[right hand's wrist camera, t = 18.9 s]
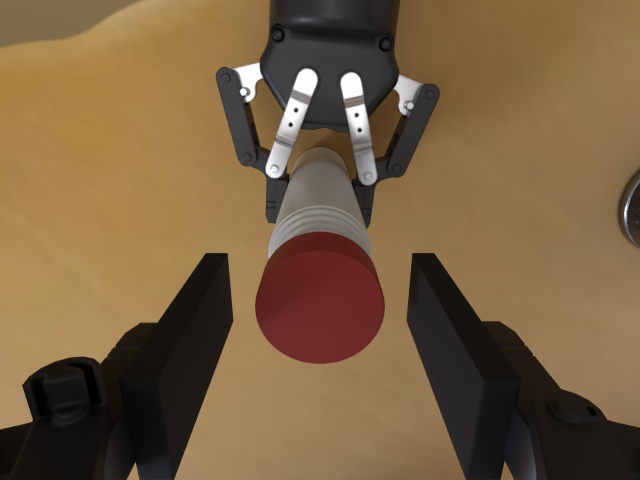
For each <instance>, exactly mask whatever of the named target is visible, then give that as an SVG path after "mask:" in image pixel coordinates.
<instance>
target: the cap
mask: <svg viewBox="0 0 640 480" xmlns="http://www.w3.org/2000/svg"><path fill="white" fill-rule="evenodd" d="M255 310H256V317H257V321H258V324H259V327H260V329H261V331H262V333H263V335H264V336H265V337H266V339H267V340H268V341H269V342H270V343H271V344H272V345H273V346H274V347H275V348H276V349H277V350H278V351H280V352H282V353H283V354H285V355H286V356H289V357H291V358H293V359H296V360H299V361H302V362H307V363H314V364H326V363H333V362H338V361H341V360H344V359H347V358H349V357H351V356H354V355H355V354H357V353H358V352H360V351H361V350H363V349H364V348H365V347H366V346H367V345H368V344H369V343H370V342H371V341H372V340H373V339H374V337H375V336H376V334H377V333H378V331H379V329H380V327H381V324H382V321H383V317H384V310H385V304H384V296H383V292H382V289H381V286H380V282H379V279H378V276H377V273H376V269H375V267H374V264H373V262H372V260H371V258H370V257H369V255H368V254H367V253H366V252H365V250H364V249H363V248H362V247H361V246H359V245H358V244H357V243H355V242H354V241H352V240H351V239H349V238H347V237H345V236H342V235H339V234H336V233H331V232H308V233H304V234H301V235H298V236H295V237H293V238H291V239H289V240H287V241H286V242H285V243H283V244H282V245H281V246H279V247H278V248H277V249H276V250H275V252H274V253H273V254H272V255H271V257H270V258H269V260H268V262H267V264H266V267H265V269H264V272H263V276H262V279H261V282H260V285H259V289H258V292H257V296H256V303H255Z"/></svg>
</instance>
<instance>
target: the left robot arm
mask: <svg viewBox="0 0 640 480" xmlns="http://www.w3.org/2000/svg"><path fill="white" fill-rule="evenodd" d="M399 5H400V0H270V20H269V39H268V43H267V46H266V49H265V51H264V52H263V54H262V56H261V58H260V62H259V63H254V64H250V65H245V66H241V67H237V68H231V67H222V68H220V69H219V70H218V71H217V73H216V81H217V85H218V88H219V92H220V95H221V99H222V103H223V106H224V110H225V114H226V117H227V121H228V125H229V128H230V132H231V135H232V139H233V143H234V146H235V150H236V154H237V157H238V160H239V162H240V163H241V164H242V165H243V166H251V167H254V168H256V169H258V170H260V171H262V172H263V173H264V175H265V176H266V179H267V188H266V218H267V221H268V223H275V224H276V221H277V218H278V215H279V212H280V209H281V205H282V202H283V199H284V196H285V193H286V190H287V187H288V184H289V178H290V174H287V163H288V160H289V158H290V155H291V152H292V150H293V147H294V144H295V142H296V139H297V137H298V134H299V131H300V129H308V130H314V129H319V128H328V129H331V130H334V131H336V132H345V133H348V137H349V142H350V146H351V150H352V155H353V160H354V165H355V170H356V177H355V179H352V187H353V190H354V193H355V196H356V199H357V202H358V205H359V208H360V211H361V215H362V218H363V221H364V224H365V227H366V230H367V228H368V226H369V224H370V221H371V213H372V205H373V197H374V189H375V186H376V185H377V183H378V182H379V181H381V180H383V179H387V178H391V177H395V178H397V177H401V176H402V175H403V174H404V173H405V172H406V169H407V167H408V165H409V163H410V161H411V158H412V156H413V154H414V152H415V149H416V147H417V145H418V143H419V141H420V138H421V136H422V134H423V132H424V130H425V127H426V125H427V123H428V121H429V118H430V116H431V114H432V112H433V110H434V107H435V105H436V103H437V101H438V99H439V95H440V91H439V88H438V87H437V86H436V85H434V84H421V83H419V82H417V81H414V80H412V79H409V78H407V77H405V76H402V75H400V74H399V68H398V65H397V63H396V60H395V55H394V43H395V36H396V28H397V20H398V12H399ZM262 79H264V80H265V82H266V84H267V85H268V87H269V89H270V90H271V92H272V94H273V95H274V97H275V98H276V100H277V102H278V103H279V105H280V107H281V108H282V110H283V111H284V115H283V118H282V121H281V123H280V126H279V129H278V132H277V135H276V138H275V141H274V144H273V147H272V150H271V151H270V150H267V149H265V148H263V147H261V146H260V142H259V138H258V134H257V130H256V126H255V122H254V118H253V115H252V111H251V107H250V103H249V102H251V101H253V100H254V99H255V98H256V96H257V85H258V83H259V82H260V81H261V80H262ZM392 90H393V91H394V92H395V93H396V95H397V102H396V109H397V111H398V112H399V113H400V114H402V115H401V118H400V120H399V122H398V125H397V127H396V129H395V132H394V134H393V136H392V139H391V141H390V143H389V146H388V148H387V150H386V153H385V155H384V156H383V157H380V158H376V159H374V154H373V148H372V147H373V146H372V139H371V134H370V128H369V123H368V118H369V117H370V116H371V114H372V113H373V112H374V111H375V110H376V109H377V107H378V106H379V105H380V104H381V103H382V102H383V100H384V99H385V98H386V97H387V96H388V95H389V93H390V92H391V91H392ZM619 222H620V226H621V229H622V232H623V234H624V235H625V237H626V238H627V239H628V240H629V242H631V243H632V244H633V245H634V246H636V247H638V248H640V170H639V171H638V172H637V173H636V174H635V176H634V177H633V178H632V180H631V181H630V182H629V184H628V186H627V187H626V189H625V191H624V194H623V196H622V199H621V203H620V207H619Z"/></svg>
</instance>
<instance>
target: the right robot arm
mask: <svg viewBox="0 0 640 480" xmlns="http://www.w3.org/2000/svg"><path fill="white" fill-rule="evenodd" d="M232 323H233V311H232V299H231V287H230V276H229V264H228V253H206V254H205V255H204V257H203V258H202V259H201V261H200V262H199V264H198V265H197V267H196V268H195V270H194V271H193V272H192V274H191V275H190V277H189V278H188V280H187V281H186V283H185V284H184V285H183V287H182V288H181V290H180V291H179V293H178V294H177V295H176V297H175V298H174V300H173V301H172V303H171V304H170V306H169V307H168V308H167V310H166V311H165V313H164V314H163V316H162V317H161V319H160V320H159V321H158V323H140V324H138V325H137V326H135V327H134V328H132V329H131V330H129V331H128V332H126V333H125V334H124V335H123V336H122V338H121V339H120V340H119V341H118V343H117V344H116V347H114V348H113V349H112V350H111V352H110V353H109V354H108V357H107V358H105V359H104V360H103V362H102V363H101V364H100V363H99V362H97V361H96V360H95V359H93V358H88V357H71V358H67V359H63V360H59V361H55V362H53V363H51V364H49V365H47V366H45V367H42V368H41V369H39V370H38V371H36V372H35V373H34V374H32V375H31V376H29V378H28V379H27V380H26V381H25V383H24V384H23V385H22V386H23V390H24V393H25V396H26V399H27V402H28V405H29V408H30V412H31V415H32V418H33V421H32V422H30V423H26V424H22V425H18V426H14V427H9V428H5V429H0V480H127V478H128V476H129V474H130V472H131V470H132V468H133V466H134V464H135V462H136V465H137V470H138V475H139V479H140V480H174V478H175V476H176V473H177V470H178V468H179V465H180V462H181V460H182V457H183V454H184V452H185V449H186V446H187V444H188V441H189V438H190V436H191V433H192V430H193V428H194V425H195V422H196V420H197V417H198V414H199V411H200V409H201V406H202V403H203V401H204V398H205V395H206V393H207V390H208V387H209V385H210V382H211V379H212V377H213V374H214V371H215V369H216V366H217V363H218V361H219V358H220V355H221V353H222V350H223V347H224V345H225V342H226V339H227V337H228V334H229V331H230V328H231V326H232ZM407 323H408V326H409V328H410V331H411V334H412V337H413V339H414V342H415V345H416V347H417V350H418V353H419V355H420V358H421V361H422V363H423V366H424V369H425V371H426V374H427V377H428V379H429V382H430V385H431V387H432V390H433V393H434V395H435V398H436V401H437V403H438V406H439V409H440V411H441V414H442V417H443V420H444V422H445V425H446V428H447V430H448V433H449V436H450V438H451V441H452V444H453V446H454V449H455V452H456V454H457V457H458V460H459V462H460V465H461V468H462V470H463V473H464V476H465V478H466V480H500V479H501V475H502V470H503V465H504V461H505V462H506V464H507V466H508V468H509V470H510V472H511V474H512V476H513V478H514V480H640V428H639V427H634V426H630V425H625V424H621V423H616V422H613V421H609V420H607V419H606V417H605V416H604V414H603V413H602V411H601V410H600V409H599V408H598V407H596V406H595V405H594V404H593V403H592V402H590V401H589V400H587V399H585V398H583V397H581V396H579V395H577V394H575V393H572V392H569V391H566V390H562V389H561V388H560V387H559V386H558V385H557V383H556V382H555V381H554V380H553V378H552V377H551V376H550V375H549V373H548V372H547V371H546V370H545V368H544V367H543V366H542V365H541V363H540V362H539V361H538V360H537V358H536V357H535V356H533V354H532V352H531V351H530V350H529V349H528V347H527V346H525V344H524V342H523V341H522V340H521V339H520V337H519V336H518V335H517V334H516V332H515V331H513V330H512V329H510V328H509V327H507V326H506V325H504V324H503V323H501V322H500V321H481V320H480V319H479V317H478V316H477V314H476V313H475V311H474V310H473V308H472V307H471V306H470V304H469V303H468V301H467V300H466V298H465V297H464V295H463V294H462V293H461V291H460V290H459V288H458V287H457V285H456V284H455V283H454V281H453V280H452V278H451V277H450V275H449V274H448V272H447V271H446V270H445V268H444V267H443V265H442V264H441V262H440V261H439V259H438V258H437V257H436V255H435V254H434V253H412V264H411V276H410V287H409V299H408V311H407Z"/></svg>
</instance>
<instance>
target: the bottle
mask: <svg viewBox="0 0 640 480" xmlns="http://www.w3.org/2000/svg"><path fill="white" fill-rule="evenodd" d="M308 232H331V233H336V234H339V235H342V236H345V237H347V238H349V239H351V240H352V241H354V242H355V243H357V244H358V245H359V246H361V247H362V248H363V249H364V250H365V252H366V253H367V254H368V255H369V257H370V258H371V257H372V248H371V242H370V239H369V236H368V233H367V230H366V227H365V224H364V221H363V218H362V215H361V211H360V208H359V205H358V202H357V199H356V196H355V193H354V190H353V187H352V184H351V181H350V178H349V175H348V172H347V169H346V166H345V163H344V161H343V159H342V158H341V157H340V155H338V154H337V153H336V152H335V151H333V150H331V149H329V148H325V147H315V148H311V149H309V150H307V151H305V152H304V153H303V154H301V156H300V157H299V158H298V159H297V161H296V163H295V166H294V169H293V172H292V175H291V178H290V181H289V184H288V187H287V190H286V193H285V196H284V199H283V202H282V205H281V209H280V212H279V215H278V218H277V221H276V224H275V227H274V230H273V233H272V236H271V239H270V242H269V248H268V257H269V258H270V257H271V255H272V254H273V253H274V252H275V250H276V249H277V248H278V247H279V246H281V245H282V244H283V243H285V242H286V241H287V240H289V239H291V238H293V237H295V236H298V235H301V234H304V233H308Z"/></svg>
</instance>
